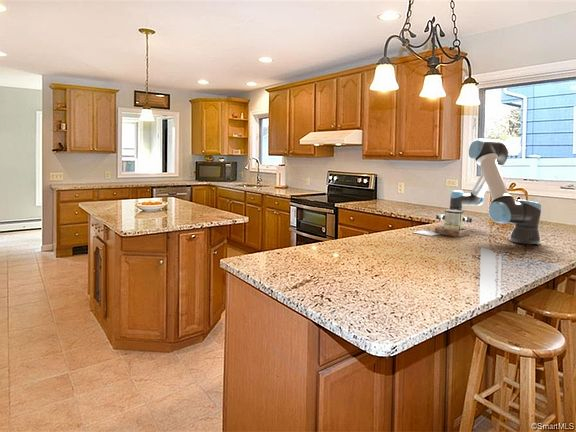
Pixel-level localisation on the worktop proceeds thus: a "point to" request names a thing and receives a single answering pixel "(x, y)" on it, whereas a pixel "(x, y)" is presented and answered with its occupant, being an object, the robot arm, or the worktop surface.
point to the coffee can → (453, 220)
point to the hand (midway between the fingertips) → (453, 220)
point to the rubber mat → (426, 233)
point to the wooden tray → (452, 232)
